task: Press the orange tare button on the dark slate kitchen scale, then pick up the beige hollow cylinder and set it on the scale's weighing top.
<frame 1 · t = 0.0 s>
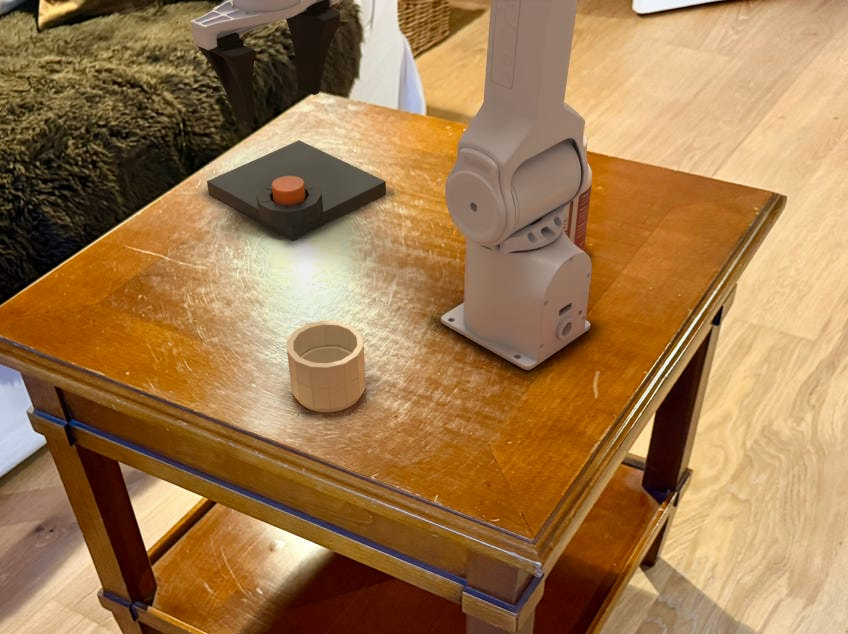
hand: (277, 104, 91), 10 cm above the table, tool pointing down, fingers open, 7 cm apart
pill bottle: (547, 258, 90), on the table
beige hollow cylinder: (328, 390, 77), on the table
scale: (296, 193, 100), on the table
tare button: (288, 191, 93), point 3 cm above the table, slide at 0.1 cm
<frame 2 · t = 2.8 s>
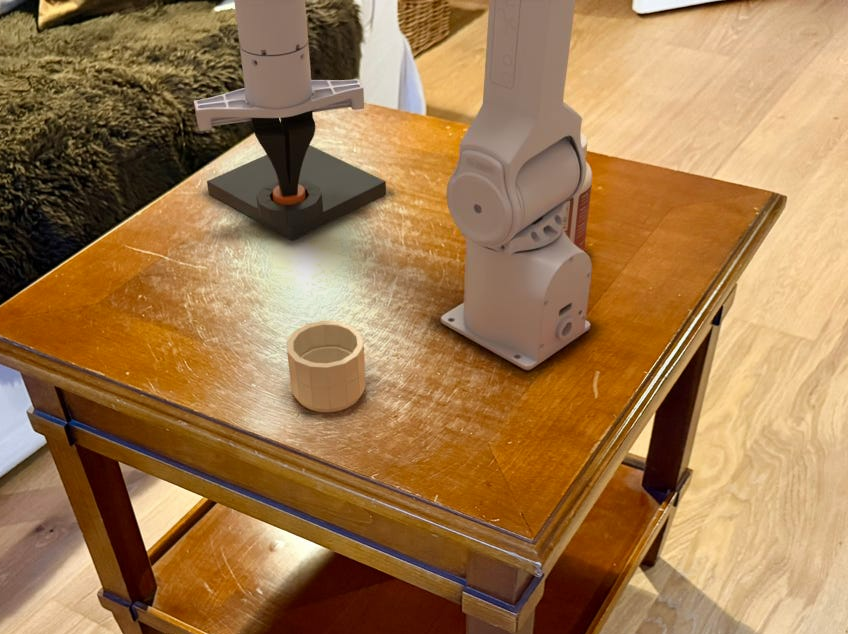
hand: (288, 190, 93), 3 cm above the table, tool pointing down, fingers closed, pressing on tare button
tare button: (289, 198, 94), point 3 cm above the table, slide at -0.6 cm, touching gripper
everything else where it was.
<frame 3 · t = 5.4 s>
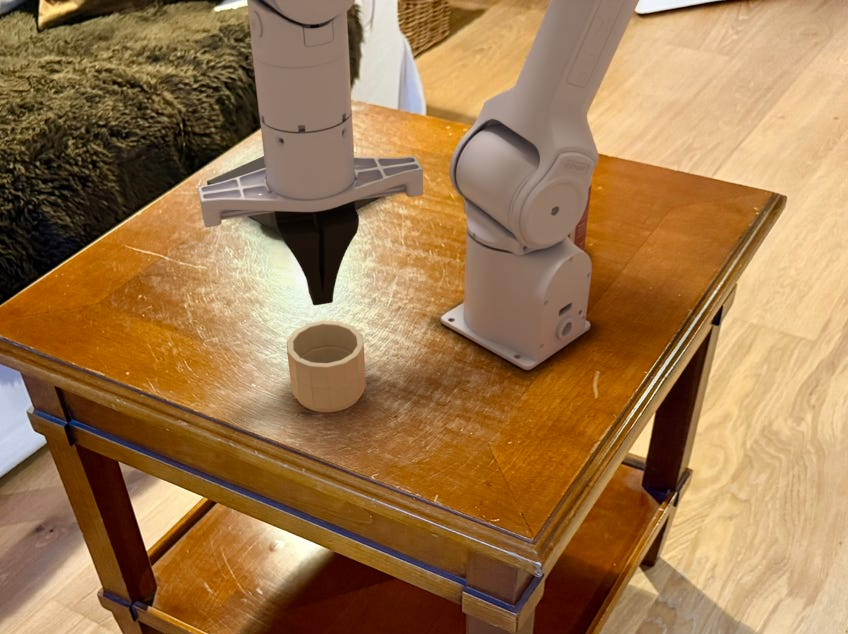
hand: (320, 296, 72), 8 cm above the table, tool pointing down, fingers closed
tare button: (288, 191, 93), point 3 cm above the table, slide at 0.1 cm
everything else where it was.
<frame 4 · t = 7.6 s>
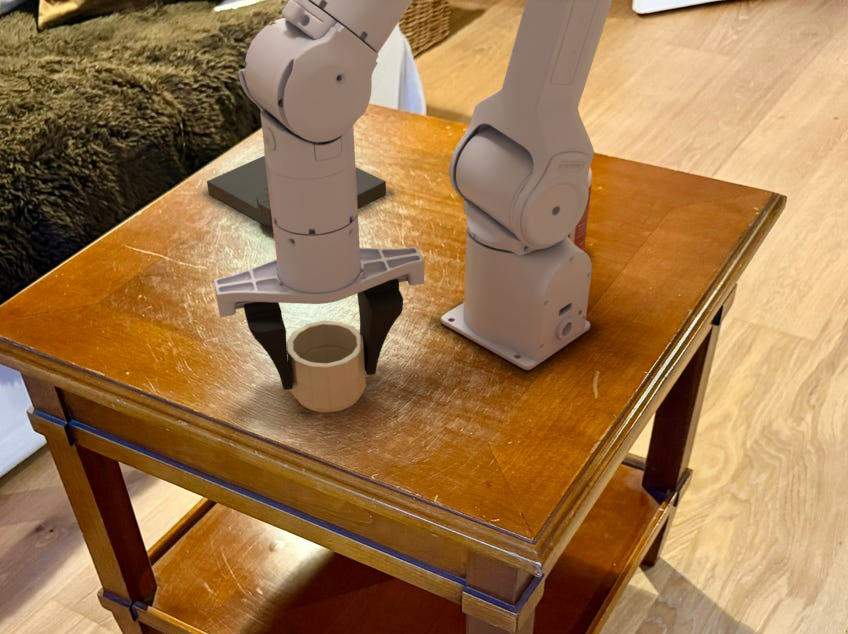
hand: (328, 374, 76), 2 cm above the table, tool pointing down, fingers closed on beige hollow cylinder, 6 cm apart
beige hollow cylinder: (328, 390, 77), on the table, touching gripper
everything else where it was.
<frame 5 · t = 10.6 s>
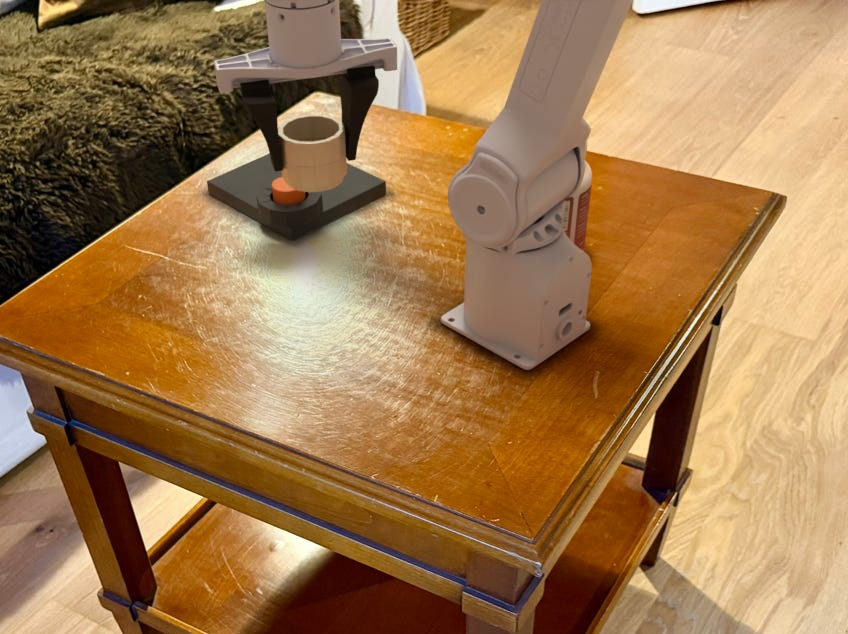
hand: (313, 160, 87), 8 cm above the table, tool pointing down, fingers closed on beige hollow cylinder, 6 cm apart
beige hollow cylinder: (314, 177, 88), point 7 cm above the table, touching gripper
everything else where it was.
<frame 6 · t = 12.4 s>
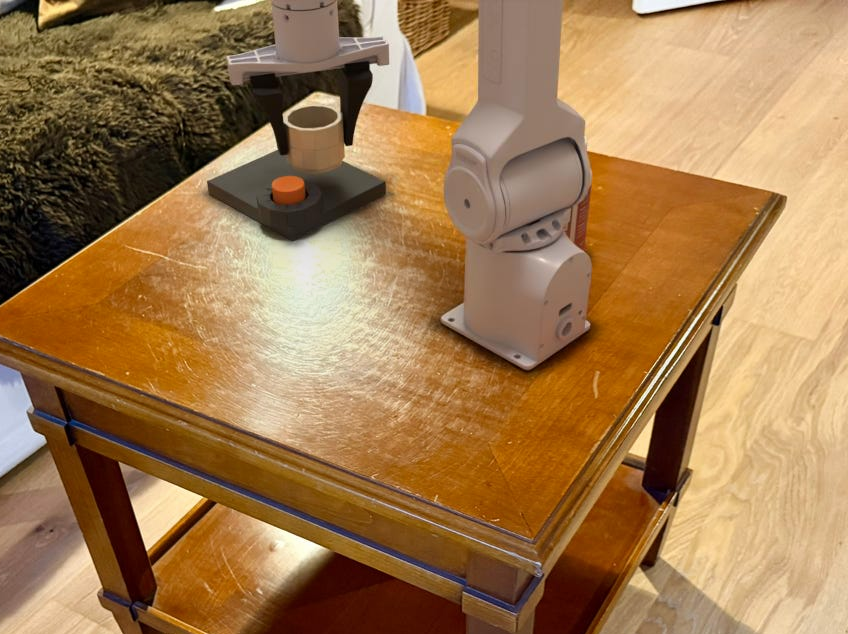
hand: (315, 145, 97), 5 cm above the table, tool pointing down, fingers closed on beige hollow cylinder, 6 cm apart
beige hollow cylinder: (316, 161, 98), point 3 cm above the table, touching gripper
everything else where it was.
when the fingers open (3 cm above the table, at t = 13.6 s): beige hollow cylinder stays where it is, resting on scale.
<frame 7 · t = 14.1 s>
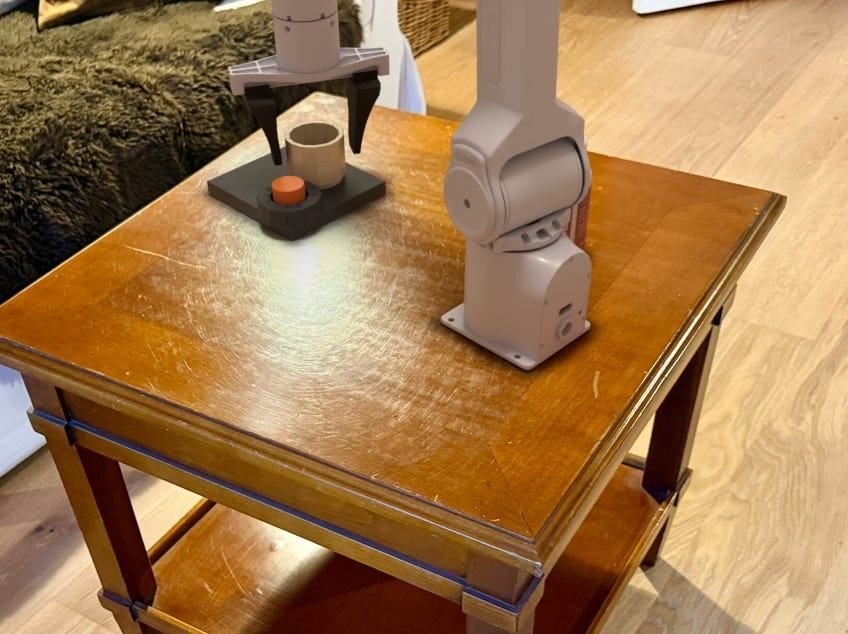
hand: (316, 155, 98), 4 cm above the table, tool pointing down, fingers open, 7 cm apart
beige hollow cylinder: (317, 177, 99), point 1 cm above the table, touching scale
everything else where it was.
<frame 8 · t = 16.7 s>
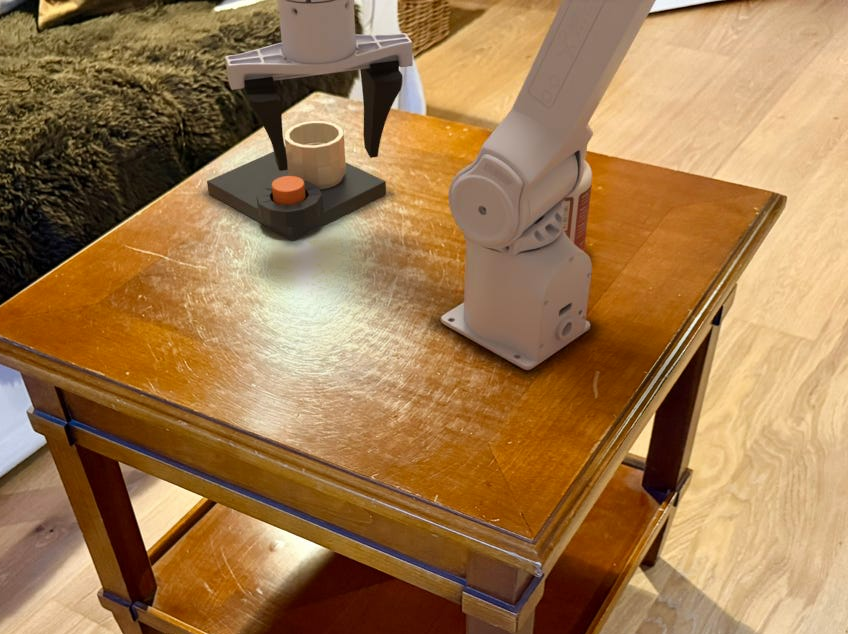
hand: (326, 158, 85), 9 cm above the table, tool pointing down, fingers open, 7 cm apart
nothing on the table moved.
at the end: tare button pushed in 1.0 cm at the most during the clip, back to where it started at the end; beige hollow cylinder inside the target area on the scale (2.2 cm from its centre), point 1.4 cm above the scale's base; beige hollow cylinder touching scale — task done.
